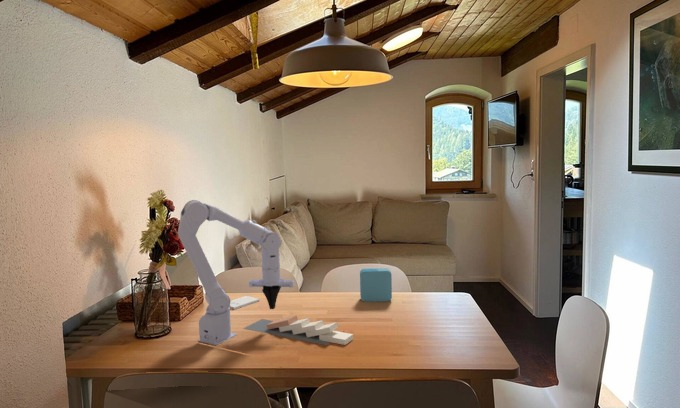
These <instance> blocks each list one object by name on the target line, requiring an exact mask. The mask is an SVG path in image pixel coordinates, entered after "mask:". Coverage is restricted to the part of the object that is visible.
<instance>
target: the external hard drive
mask: <svg viewBox="0 0 680 408" xmlns="http://www.w3.org/2000/svg"><path fill="white" fill-rule="evenodd" d="M255 302H256V303H258V302H260V299H259V298H257V297H253V296H249V295H244V296H241V297H238V298H235V299H232V300H231V299H230V306H229V307H230V310H233V309H235V310H237V308H238V309H241V308H244V307H248V306H250V305H252V304H256V303H255ZM240 307H241V308H240Z"/></svg>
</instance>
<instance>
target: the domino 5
mask: <svg viewBox="0 0 680 408" xmlns="http://www.w3.org/2000/svg"><path fill="white" fill-rule="evenodd" d="M319 340H322V341H327V342H331V343H332V344H339V345H343V346H346V345H347V344H349V343H350V342H351V341H353V340H354V334H353V333H350V332H343V331H339V330H338V331H337V330H334V331H332V332H330V333H326V334H321V335H319Z"/></svg>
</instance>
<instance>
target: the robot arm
mask: <svg viewBox="0 0 680 408" xmlns="http://www.w3.org/2000/svg"><path fill="white" fill-rule="evenodd" d="M179 218H180V220H179V224H178V230H177V235H178V239H179V240H180V242H181V244H182V246H183V248H184V250H185V252H186V254H187V257H188V258H189V260H190V262H191V264H192V267H193V268H194V271H195V273H196V275H197V277H198V278H199V281H200V283H201V285H202V288H203V289H204V293H205V297H204V298H205V301H206V303H208V306H207V307H206V308H205V314H204V315H202V316H201V317H200V318H199V322H198V330H199V333H198V334H199V338H198V339H197V341H198V342H202V343H206V344H209V345H214V346H218V345H220V344H221V343H224V342H226V341H228V340H229V339H232V338H234V337H236V336H238V333H237V332H236V333H235V332H232V323H231V309H230V307H229V306H230V301H231V298H230V297H229V295H228V294H227V293H226V291H225V289H223V287H222V286H221V285H220V283H219V282H218V280H217V277H216V275H215V273H214V271H213V269H212V267H211V265H210V263H209V260H208V259H207V257H206V254H205V252H204V250H203V247H202V246H201V244H200V242H199V240H198V237H197V233H198V231H199V228H200V227H201V226H202V224H204V223H205V221H206V220H207V221H208V222H212V221H213V222H214V221H217V222H221V223H223V224H225V225H226V226H229V227H232V228H234V229H236V230H237V231H238V233H239V235H240V237H242V238H244V239H246V240H248V241H251V242H253V243H255V244H256V245H260V246H261V275H262V279H250V280H249V281H248V284H249V285H248V286H249V288H253V287H254V288H255V287H257V288H258V287H259V288H261V287H262V289H261V290H262V293H263V295H264V296H265V298H266V301H267V303H268V306H269V307H268V308H269V310H274V309H275V308H276V303H277V299H278V296H279V293H280V290H281V288H294V286H295V281H294V279H282V278H281V267H280V265H281V263H280V247H281V245H282V240H281V237H280V235H279V234H278V233H276V232H275V231H272V230H271V229H270V228H269V227H267V226H266V227H264V226H263V225H260V224H258V221H256V220H254V219H246V220H244V221H243V220H241V219H239V218H237V217H236V216H234V215H232V214H230V213H228V212H226V211H224V210H222V209H220V208H218V207H217V206H215V205H214V206H213V205H211V204H208V203H204V202H201V201H200V200H196V199H191V200H189V201H188V202H186V203H185V205H183V208H182V210H181V211H180V217H179Z"/></svg>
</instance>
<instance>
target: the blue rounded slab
mask: <svg viewBox="0 0 680 408" xmlns="http://www.w3.org/2000/svg"><path fill="white" fill-rule="evenodd" d="M392 276H393V275H392V272H391V270H390V269H389V268H363V269H361V270H360V271H359V277H360V278H359V283H360V284H359V286H360V289H359V292H360V300H361V301H362V302H367V303H368V302H370V303H371V302H389V301H391V300H392V299H393V296H392V295H393V292H392V290H393V288H392V287H393V286H392V282H393V281H392Z"/></svg>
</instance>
